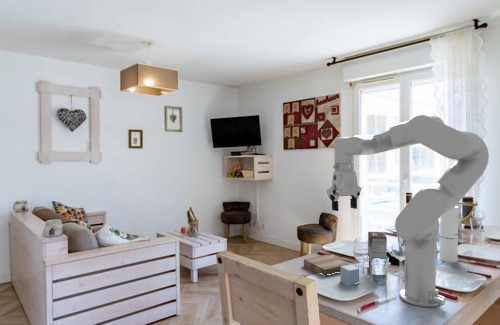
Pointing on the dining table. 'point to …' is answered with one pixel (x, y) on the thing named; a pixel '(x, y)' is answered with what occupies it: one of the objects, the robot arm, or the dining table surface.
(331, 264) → the walnut base
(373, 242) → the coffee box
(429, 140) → the robot arm
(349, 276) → the slate block
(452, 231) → the cylindrical container
